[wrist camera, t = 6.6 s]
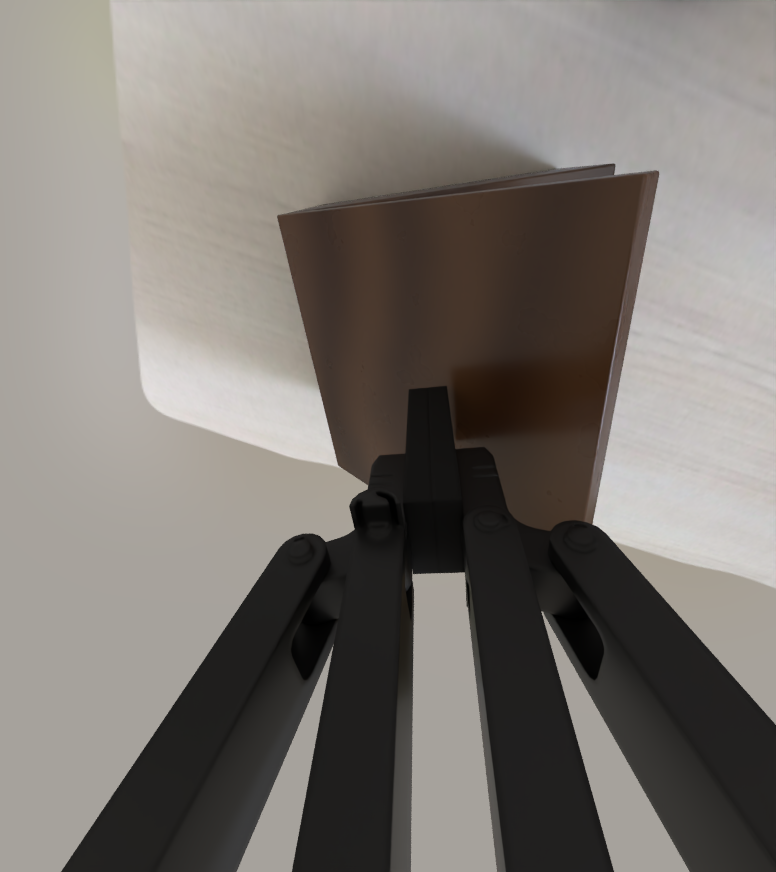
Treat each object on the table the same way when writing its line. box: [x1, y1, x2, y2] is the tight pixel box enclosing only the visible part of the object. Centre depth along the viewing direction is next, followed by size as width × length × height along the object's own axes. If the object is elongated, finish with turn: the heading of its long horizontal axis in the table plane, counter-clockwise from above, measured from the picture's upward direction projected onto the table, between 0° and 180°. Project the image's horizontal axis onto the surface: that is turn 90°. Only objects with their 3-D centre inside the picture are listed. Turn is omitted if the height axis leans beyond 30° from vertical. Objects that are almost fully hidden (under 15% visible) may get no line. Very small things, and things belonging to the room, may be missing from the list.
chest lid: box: [277, 170, 659, 531], centre depth 18 cm, size 16×15×1 cm
